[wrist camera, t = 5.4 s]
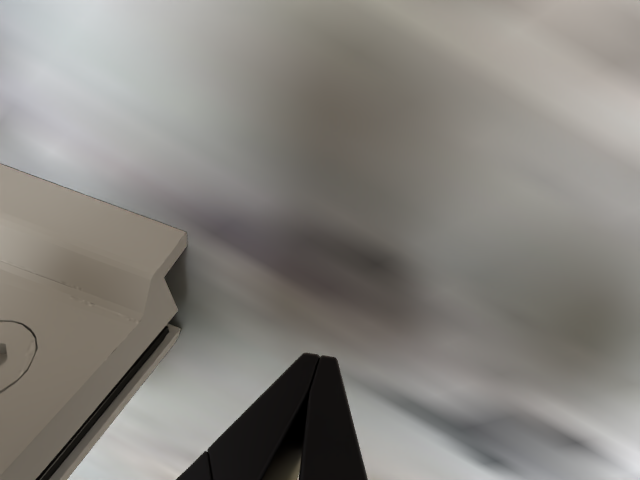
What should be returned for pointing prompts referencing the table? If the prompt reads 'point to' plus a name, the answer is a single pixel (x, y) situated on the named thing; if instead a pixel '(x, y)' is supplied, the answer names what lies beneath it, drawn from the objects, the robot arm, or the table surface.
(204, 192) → the table surface
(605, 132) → the table surface
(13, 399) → the hinge
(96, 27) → the table surface
